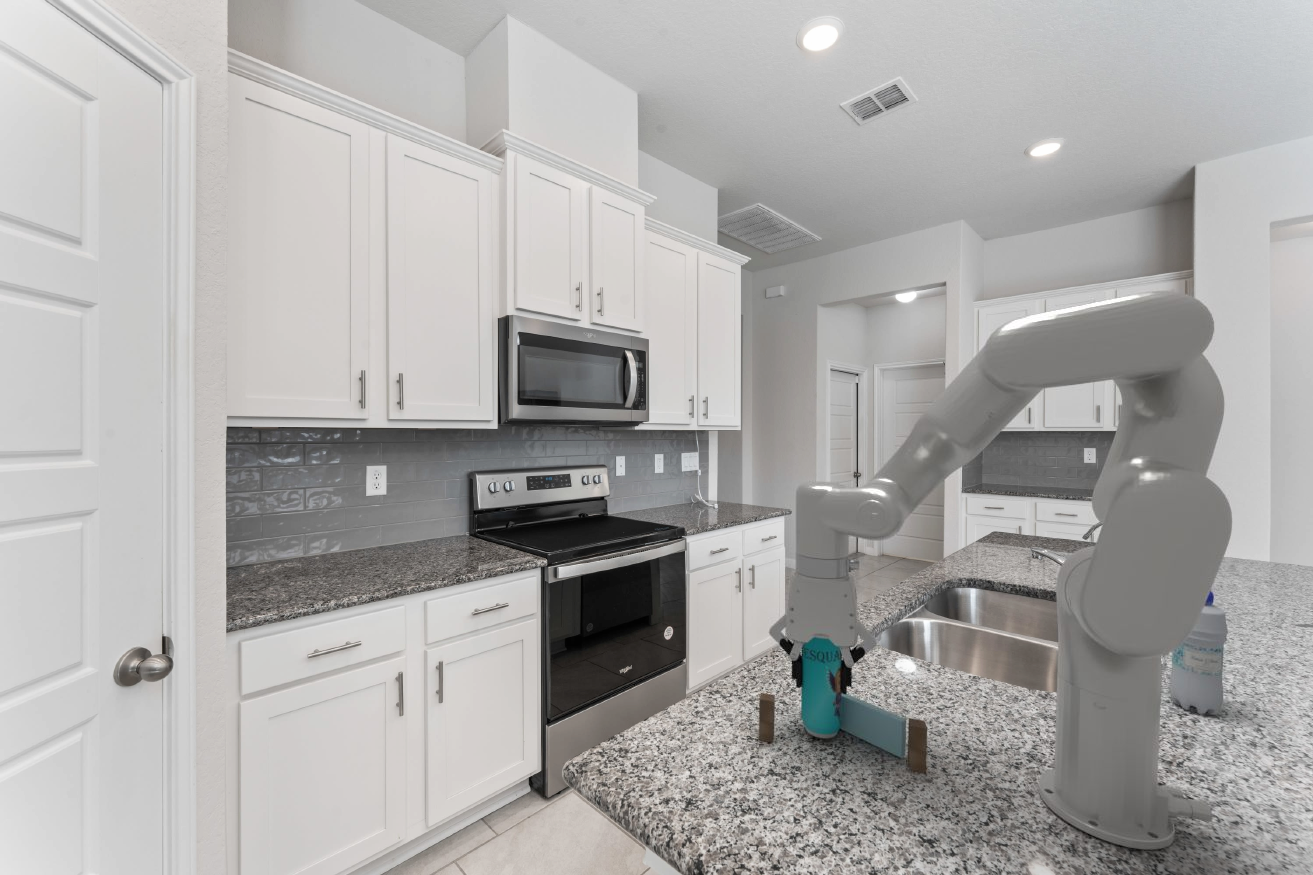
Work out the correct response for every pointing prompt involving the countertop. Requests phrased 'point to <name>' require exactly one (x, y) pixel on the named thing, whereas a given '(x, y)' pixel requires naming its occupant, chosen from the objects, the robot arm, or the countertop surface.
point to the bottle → (1201, 663)
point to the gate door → (874, 725)
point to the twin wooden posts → (915, 733)
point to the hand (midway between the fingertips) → (821, 685)
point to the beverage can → (821, 687)
